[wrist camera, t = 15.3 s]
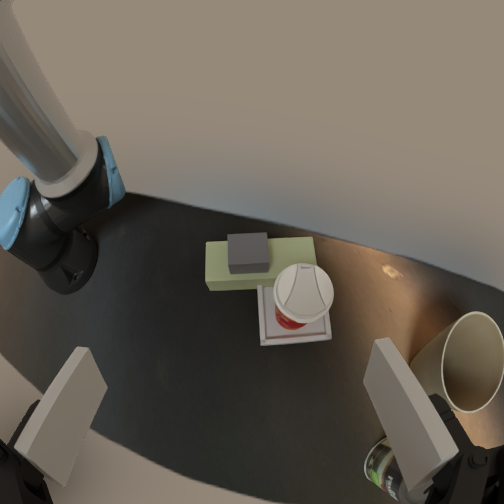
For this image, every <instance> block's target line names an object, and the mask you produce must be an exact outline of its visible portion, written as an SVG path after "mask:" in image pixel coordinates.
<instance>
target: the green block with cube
mask: <svg viewBox="0 0 504 504" xmlns="http://www.w3.org/2000/svg"><path fill="white" fill-rule="evenodd" d="M299 263H306V264H311V265H316V266H317V263H316V256H315V250H314V243H313V237H295V238H274V239H267V232H265V233H245V234H228V241H217V242H206V269H205V282H206V284H207V286H208V288H209V290H210V291H221V290H243V289H257V294H258V311H259V328H260V345H261V346H269V345H283V344H295V343H305V342H315V341H324V340H330V339H332V335H331V326H330V318H329V310H328V311H327V312H326V314H325V315H323V316H322V317H321V318H319V319H317V320H316V321H314V322H311V323H308V324H306V325H305V326H303V327H301V328H299V329H296V330H288V329H285V328H283V327H282V326H281V325H280V324H279V323H278V322H277V320H276V316H275V300H274V295H273V289H274V284H275V281H276V279H277V277H278V275H279V274H280V273H281V272H282V271H283V270H284V269H286V268H287V267H289V266H291V265H294V264H299Z"/></svg>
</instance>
